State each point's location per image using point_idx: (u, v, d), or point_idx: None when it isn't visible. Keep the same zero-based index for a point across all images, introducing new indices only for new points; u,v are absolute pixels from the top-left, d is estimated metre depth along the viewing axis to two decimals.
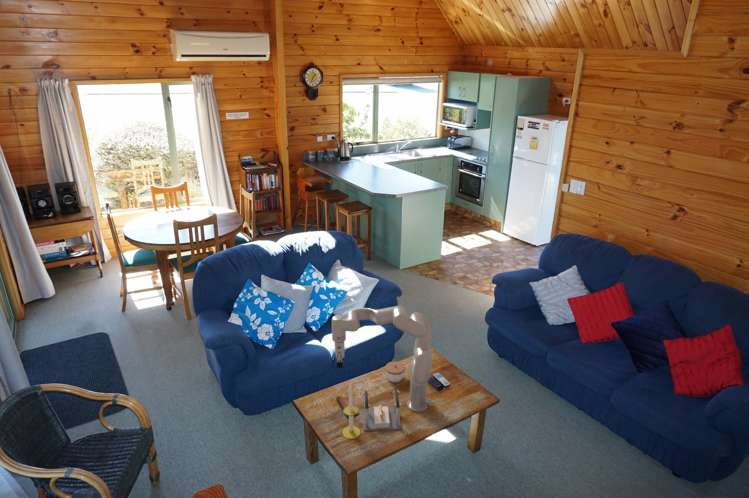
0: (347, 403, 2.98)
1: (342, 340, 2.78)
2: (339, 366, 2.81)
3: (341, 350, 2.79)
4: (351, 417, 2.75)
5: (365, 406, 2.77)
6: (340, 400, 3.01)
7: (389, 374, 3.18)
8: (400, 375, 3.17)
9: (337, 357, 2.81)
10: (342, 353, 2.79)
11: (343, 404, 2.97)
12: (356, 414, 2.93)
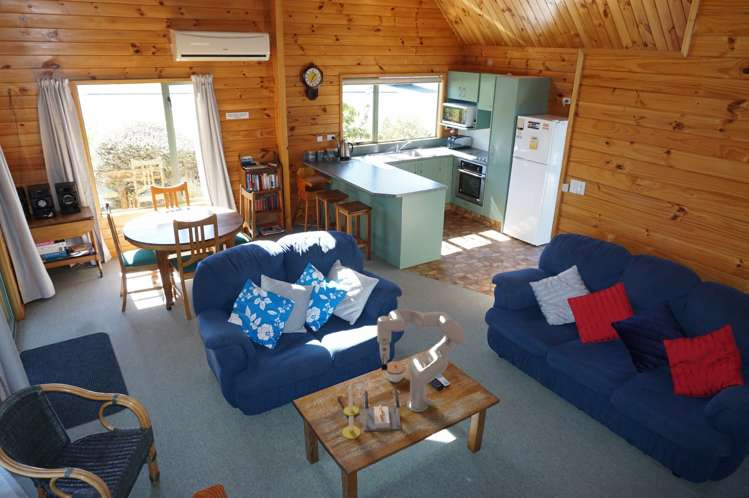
0: (348, 403, 2.98)
1: (388, 342, 2.75)
2: (384, 368, 2.78)
3: (386, 352, 2.75)
4: (351, 417, 2.75)
5: (365, 406, 2.77)
6: (341, 400, 3.01)
7: (389, 374, 3.18)
8: (400, 375, 3.17)
9: (382, 359, 2.77)
10: (387, 355, 2.76)
11: (344, 404, 2.97)
12: (356, 414, 2.93)
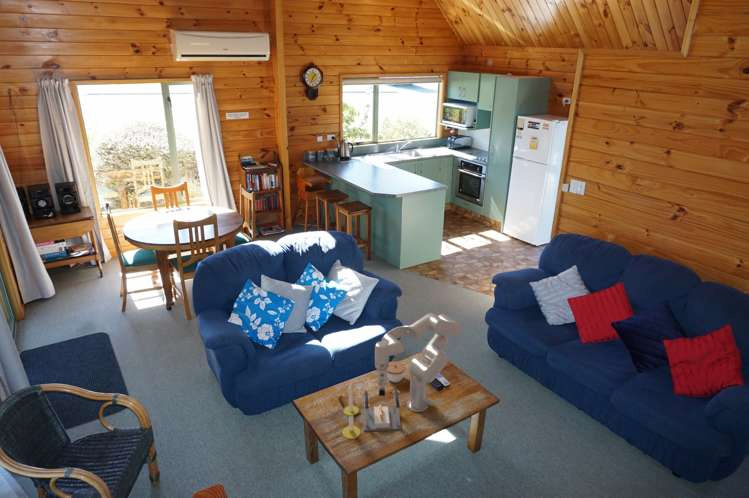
0: None
1: (385, 367, 2.72)
2: (382, 394, 2.75)
3: (384, 377, 2.72)
4: (351, 417, 2.75)
5: (365, 406, 2.77)
6: (342, 399, 3.01)
7: (389, 374, 3.18)
8: (400, 375, 3.17)
9: (380, 384, 2.74)
10: (385, 380, 2.73)
11: (345, 403, 2.97)
12: (358, 414, 2.93)
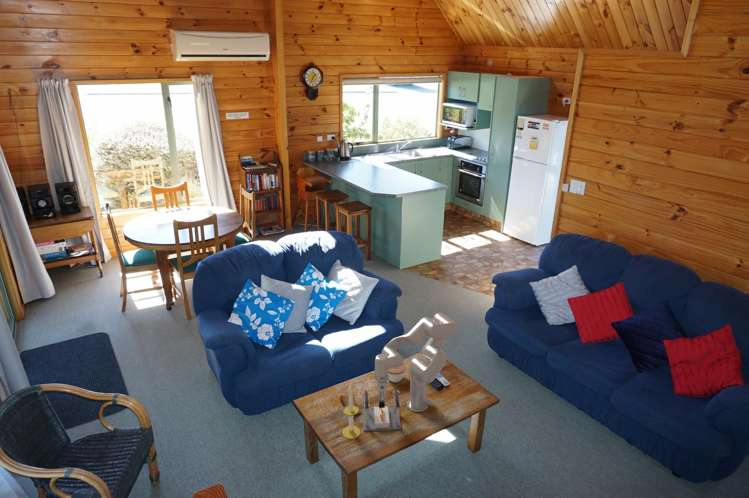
0: None
1: (385, 380, 2.75)
2: (381, 406, 2.78)
3: (384, 390, 2.75)
4: (351, 417, 2.75)
5: (365, 406, 2.77)
6: (343, 399, 3.01)
7: (389, 374, 3.18)
8: (400, 375, 3.17)
9: (380, 397, 2.77)
10: (385, 393, 2.76)
11: (346, 403, 2.98)
12: (359, 414, 2.93)
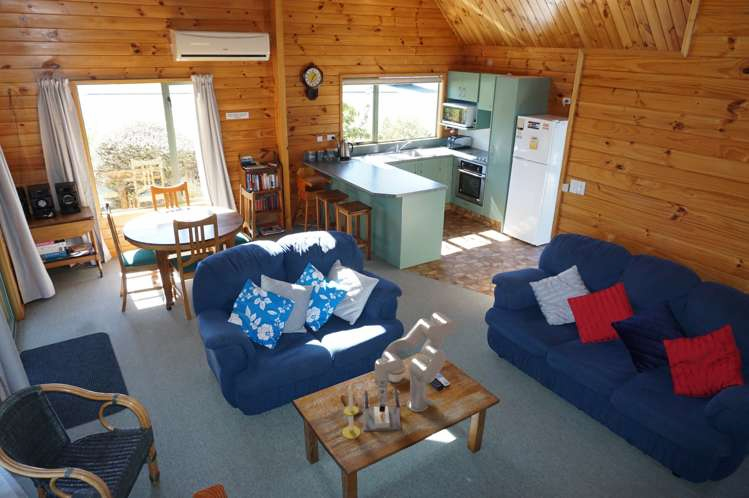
0: None
1: (385, 384, 2.76)
2: (382, 410, 2.79)
3: (384, 394, 2.76)
4: (351, 417, 2.75)
5: (365, 406, 2.77)
6: (344, 399, 3.01)
7: (389, 374, 3.18)
8: (400, 375, 3.17)
9: (380, 401, 2.78)
10: (385, 397, 2.77)
11: (347, 403, 2.98)
12: (360, 413, 2.93)
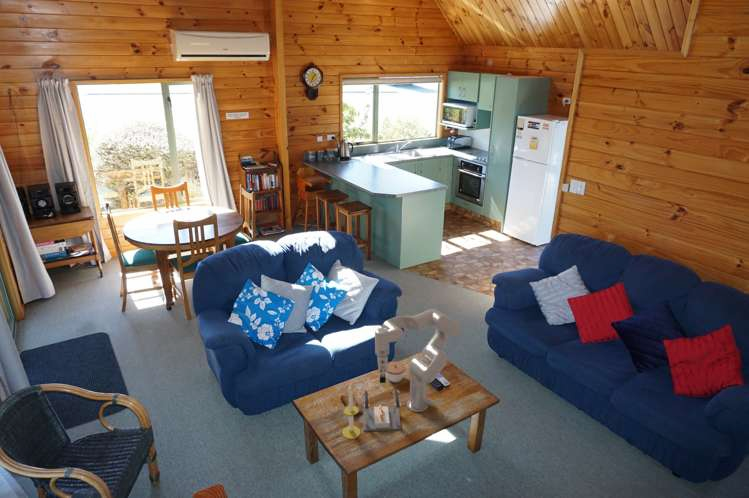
0: None
1: (386, 354, 2.69)
2: (382, 381, 2.72)
3: (385, 364, 2.69)
4: (351, 417, 2.75)
5: (365, 406, 2.77)
6: (344, 399, 3.01)
7: (389, 374, 3.18)
8: (400, 375, 3.17)
9: (380, 372, 2.71)
10: (386, 367, 2.70)
11: (348, 403, 2.98)
12: (361, 413, 2.94)
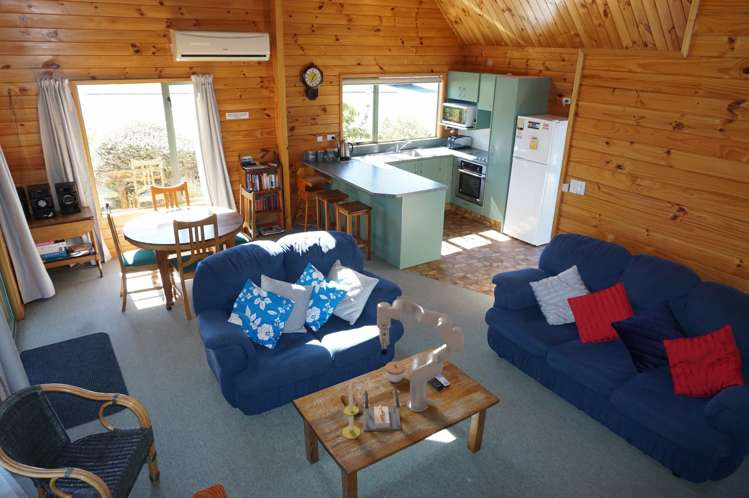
0: None
1: (387, 327, 2.81)
2: (384, 353, 2.84)
3: (386, 337, 2.82)
4: (351, 417, 2.75)
5: (365, 406, 2.77)
6: (344, 399, 3.01)
7: (389, 374, 3.18)
8: (400, 375, 3.17)
9: (382, 344, 2.84)
10: (387, 340, 2.82)
11: (348, 403, 2.98)
12: (361, 413, 2.94)
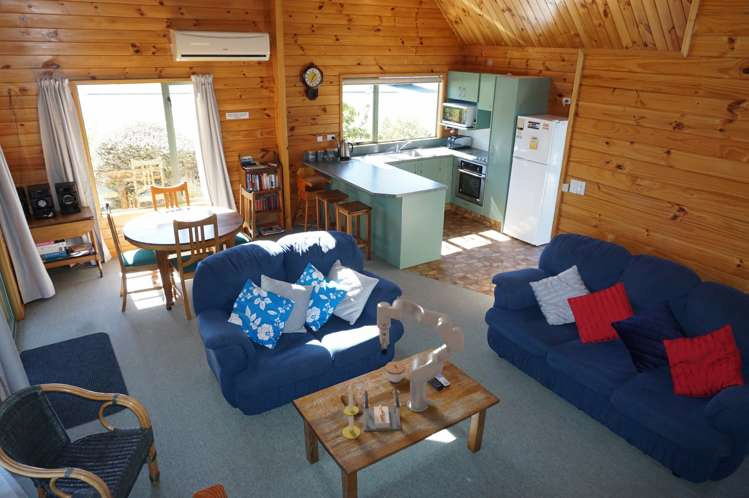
0: None
1: (387, 327, 2.81)
2: (384, 353, 2.84)
3: (386, 337, 2.82)
4: (351, 417, 2.75)
5: (365, 406, 2.77)
6: (344, 399, 3.02)
7: (389, 374, 3.18)
8: (400, 375, 3.17)
9: (382, 344, 2.84)
10: (387, 340, 2.82)
11: (348, 403, 2.98)
12: (361, 413, 2.94)
